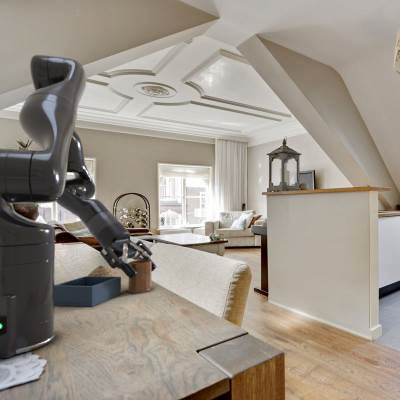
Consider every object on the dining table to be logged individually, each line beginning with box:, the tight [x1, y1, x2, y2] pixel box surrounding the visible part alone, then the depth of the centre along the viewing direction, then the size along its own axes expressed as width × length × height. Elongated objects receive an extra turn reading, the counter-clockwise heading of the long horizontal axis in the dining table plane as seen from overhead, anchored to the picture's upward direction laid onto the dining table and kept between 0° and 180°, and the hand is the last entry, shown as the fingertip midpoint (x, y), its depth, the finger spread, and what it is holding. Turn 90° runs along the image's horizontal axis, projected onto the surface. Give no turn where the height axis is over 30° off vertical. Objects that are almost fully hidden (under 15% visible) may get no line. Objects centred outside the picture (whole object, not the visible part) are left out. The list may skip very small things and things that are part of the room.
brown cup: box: [127, 259, 153, 294], centre depth 87 cm, size 6×6×8 cm
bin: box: [54, 275, 122, 307], centre depth 78 cm, size 10×10×5 cm
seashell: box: [87, 265, 118, 277], centre depth 100 cm, size 8×6×8 cm
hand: (144, 272), depth 87 cm, fingers open, 8 cm apart
